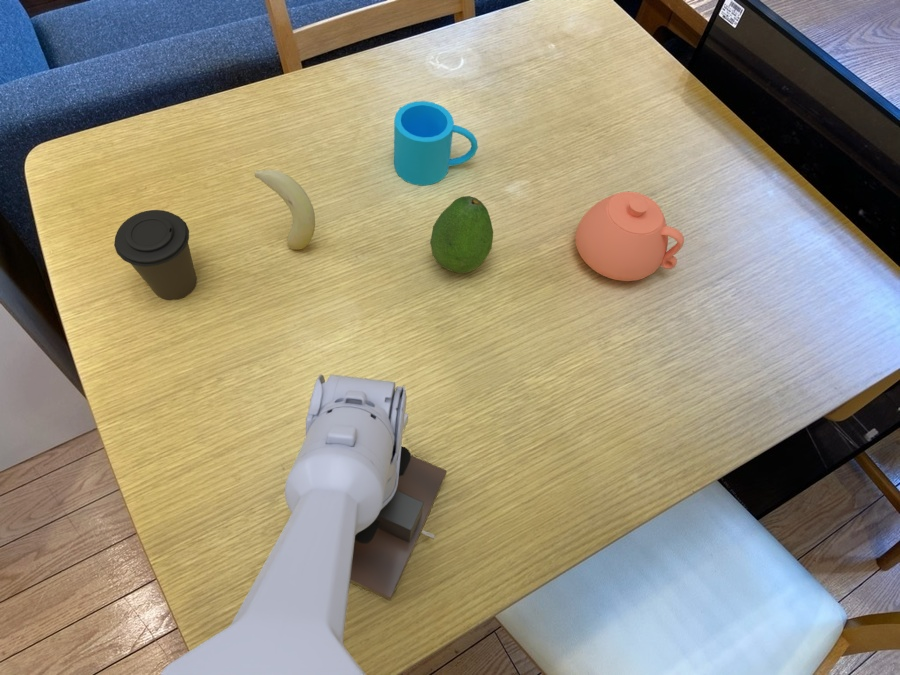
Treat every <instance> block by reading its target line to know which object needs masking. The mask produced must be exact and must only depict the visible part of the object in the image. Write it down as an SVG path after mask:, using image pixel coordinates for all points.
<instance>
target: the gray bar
mask: <svg viewBox="0 0 900 675" xmlns="http://www.w3.org/2000/svg"><path fill="white" fill-rule="evenodd" d="M423 505H424V502H422V501H420V500H418V499H416V498H413V497H411V496H409V495H407V494H404V493H402V492H400V491H398V490H396V492H395V494H394V496H393V498H392V499H391V500H390V501H389V502H388V504H387V505H386V506H385V507H383V508H382V509H381V511H380V513H379V515H378V516H377V518H376V520H378V521H380V525H379V527H378V528H379V529H381V530H383V531H385V532H387V533H390V534H392V535H394V536H396V537H398V538H400V539H403V540H405V541H407V542H410V541H411V539H412V537H413V534H414V532H415V530H416V528H417V525H418V523H419V521H420V519H421V516H422V511H423Z"/></svg>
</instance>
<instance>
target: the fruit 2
mask: <svg viewBox="0 0 900 675" xmlns="http://www.w3.org/2000/svg"><path fill="white" fill-rule="evenodd" d="M493 228H494V227H493V224H492V220H491V216H490V214H489V211H488V209H487V207H486V206H485V205H484V203H483V202H482V201H481V200H479V199H478V198H476V197H474V196H471V195H465V196H460V197H458V198H456V199H454V201H452V202H451V204H449V205H448V207H446V208H444V210H443V211H442V212H441V213H440V214H439V216H438V218H437V219H436V220H435V223H434V224H433V226H432V230H431V236H430V241H429V244H430V248H431V253H432V257H433V258H434V260H435V262H436V263H437V264H438V265H439V266H441V268H444V269H446V270H447V271H448V270H449V271H450V272H453V273H454V274H466V273H470V272H473V271H474V270H477V268H479V267H480V266H481V265H482V264H483V263H484V261H485V260H486V258H487V257H488V256H489V254H490V252H491V250H492V247H493V240H494V229H493Z"/></svg>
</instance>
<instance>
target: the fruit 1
mask: <svg viewBox="0 0 900 675" xmlns="http://www.w3.org/2000/svg"><path fill="white" fill-rule="evenodd" d="M254 177H255V178H256V179H258V180H260V181H261V182H262V183H264V184H265V185H266V186H267V187H268V188H269V189H271V190H272V191H273V192H275V193H276V194H277V195H278V196H279V197H280V199H282V200H283V202H284V203H285V205H286V206H287V207H288V209H289V211H290V214H291V222H292V223H291V226H290V230H289V233H288V236H287V242H286V244H287V245H286V246H287V247H288V249H290V250H303V249H305V248H306V247H307V246H308V245H309V243H310V242H312V239H313V238H314V235H315V230H316V214H315V209H314V206H313V204H312V201H311V198H310V197H309V194H307V192H306V191H305V189H304V188H303V187H302V186H301V184H300V183H299V182H297V180H295V178H293V177H292V176H290V175H288V174H287V173H286V172H283V171H280V170H276V169H265V170H255V171H254Z"/></svg>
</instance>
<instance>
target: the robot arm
mask: <svg viewBox="0 0 900 675" xmlns="http://www.w3.org/2000/svg"><path fill="white" fill-rule="evenodd" d="M314 383H315V384H314V386H313V390H312V393H311V396H310V400H309V403H308V404H309V405H308V410H307V415H306V419H305V433H304V434H305V437H304V440H303V442H302V444H301V446H300V448H299V451H298V453H297V455H296V457H295V459H294V461H293V464H292V466H291V469H290V471H289V473H288V475H287V478H286V481H285V484H284V498H285V503H286V506H287V508H288V510H289V512H290V516H289V518H288V519H287V522H286V523H285V525H284V527H283V529H282V531H281V532H280V534H279V536H278V538H277V540H276V541H275V543H274V545H273V547H272V549H271V551H270V552H269V555H268V556H267V558H266V559H265V562H264V563H263V565H262V567H261V569H260V570H259V572H258V574H257V575H256V577H255V580H254V581H253V583H252V585H251V587H250V588H249V590H248V593H247V594H246V596H245V598H244V600H243V602H242V603H241V605H240V607H239V609H238V611H237V613H236V614H235V616H234V617H233V620H232V621H231V623H230V625H229V626H227V627H226V628H225V629H222V630H221V631H219V632H217V633H216V634H214V635H213V636H211V637H210V638H208V639H207V640H204V641H203V642H201V643H200V644H199V645H197V646H195V647H193V648H192V649H190V650H189V651H187V652H186V653H184V654H182V655H180V656H178V657H177V658H176V659H174V660H173V661H171V662H170V663H168V664H167V665H166V666H165V667H164V668H163V670H162V671H161V672H160V674H159V675H367V673H366V672H365V671H364V669H363V668H362V667H361V666H360V664H358V662H357V661H356V660H355V658H354V657H353V656H352V655H351V653H350V652H349V651H348V649H347V648H346V646H345V644H344V636H345V628H346V627H345V626H346V618H347V611H348V603H349V602H348V601H349V593H350V584H351V583H350V577H351V568H352V559H353V551H354V542H355V541H357V542H359V543H363V544H368V543H369V542H370V541H371V540H372V539H373V537H374V535H375V533H376V531H377V529H378V527H379V525H380V521H378V520H376V518H377V516H378V515H379V513H380V511H381V509H382V508H383V507H385V506H386V505H387V504H388V502H389V501H390V500H391V499H392V498H393V496H394V494H395V492H396V489H397V486H398V478H399V476H402V475H404V473H405V471H406V469H407V466H408V464H409V462H410V460H411V455H412V454H411V451H410V450H409V449H408V448H407V447H405V446H402V445H403V436H404V430H405V429H406V427H407V424H408V421H409V414H408V413H407V412H406V410H407V409H406V408H407V391H406V387H405V386H406V385H402V386H398V385H396V382H395V381H392V380H391V381H390V380H383V379H375V378H374V379H372V378H364V377H356V376H347V375H338V374H330V375H329V376H328V378H327V379H326V380H325V377H324V374H319V375H318V377H317V378H316V381H315V382H314Z"/></svg>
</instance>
